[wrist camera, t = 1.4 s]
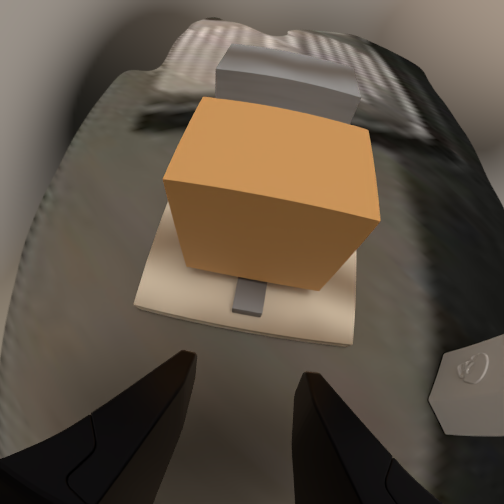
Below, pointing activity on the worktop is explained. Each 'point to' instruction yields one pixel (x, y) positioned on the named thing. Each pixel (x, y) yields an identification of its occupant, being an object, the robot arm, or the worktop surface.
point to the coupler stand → (248, 290)
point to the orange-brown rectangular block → (271, 193)
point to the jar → (471, 390)
